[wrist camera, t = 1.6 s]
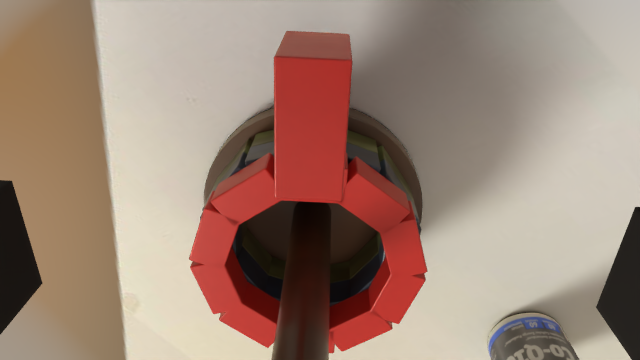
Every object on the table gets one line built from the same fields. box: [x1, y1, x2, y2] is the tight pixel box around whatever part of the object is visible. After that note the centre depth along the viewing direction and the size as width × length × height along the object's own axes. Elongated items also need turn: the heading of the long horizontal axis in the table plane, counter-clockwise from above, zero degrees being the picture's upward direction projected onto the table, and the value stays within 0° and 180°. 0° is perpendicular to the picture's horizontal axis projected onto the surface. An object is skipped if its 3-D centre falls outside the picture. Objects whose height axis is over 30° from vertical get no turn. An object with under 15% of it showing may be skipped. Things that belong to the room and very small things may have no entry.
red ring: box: [189, 31, 427, 353], centre depth 20 cm, size 15×11×4 cm
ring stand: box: [200, 108, 422, 360], centre depth 21 cm, size 12×12×13 cm
